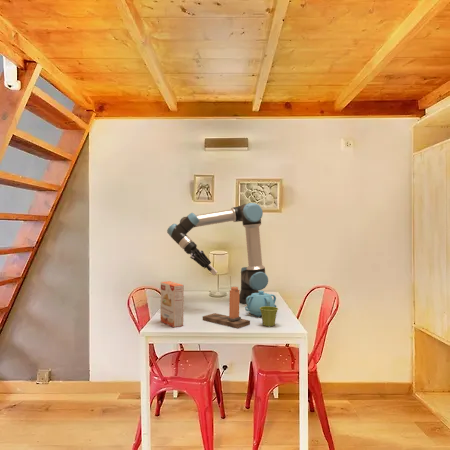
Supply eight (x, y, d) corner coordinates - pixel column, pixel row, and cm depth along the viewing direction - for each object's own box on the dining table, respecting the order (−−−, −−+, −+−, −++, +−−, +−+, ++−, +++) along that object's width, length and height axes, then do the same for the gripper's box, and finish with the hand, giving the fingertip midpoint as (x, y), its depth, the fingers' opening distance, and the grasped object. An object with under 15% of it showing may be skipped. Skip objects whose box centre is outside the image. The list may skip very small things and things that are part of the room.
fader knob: (240, 318, 195) (241, 286, 195) (233, 321, 191) (234, 288, 191) (234, 317, 198) (235, 286, 198) (227, 319, 193) (227, 287, 193)
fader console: (250, 324, 194) (250, 320, 194) (238, 328, 186) (238, 324, 186) (214, 316, 209) (215, 312, 209) (202, 320, 202) (202, 316, 202)
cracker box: (159, 321, 197) (160, 281, 197) (169, 320, 201) (170, 280, 201) (173, 327, 186) (173, 285, 186) (183, 326, 190) (184, 284, 190)
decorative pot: (241, 315, 213) (241, 291, 213) (254, 310, 227) (254, 287, 227) (268, 319, 205) (268, 294, 205) (279, 313, 218) (279, 290, 218)
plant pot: (258, 322, 198) (258, 306, 198) (275, 322, 198) (275, 306, 198) (261, 327, 188) (261, 310, 188) (279, 327, 189) (280, 310, 189)
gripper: (189, 247, 231) (216, 275, 225) (178, 251, 219) (207, 281, 214) (196, 239, 228) (224, 266, 223) (186, 242, 216) (214, 271, 211)
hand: (215, 273), depth 218 cm, fingers closed
